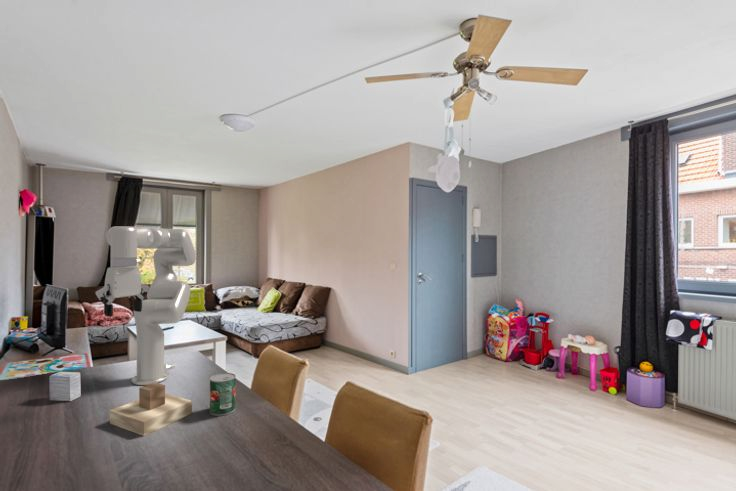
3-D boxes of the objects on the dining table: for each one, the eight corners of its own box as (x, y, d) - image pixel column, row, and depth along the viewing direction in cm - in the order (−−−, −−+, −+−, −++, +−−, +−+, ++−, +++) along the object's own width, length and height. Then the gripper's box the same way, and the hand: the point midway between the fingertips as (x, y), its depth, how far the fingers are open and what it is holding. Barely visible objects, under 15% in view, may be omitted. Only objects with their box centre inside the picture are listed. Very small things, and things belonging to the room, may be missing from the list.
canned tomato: (204, 412, 124) (204, 378, 124) (223, 403, 131) (223, 371, 131) (221, 418, 120) (221, 383, 120) (240, 408, 127) (240, 375, 127)
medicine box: (81, 396, 135) (81, 372, 135) (70, 402, 130) (70, 376, 130) (60, 395, 136) (60, 371, 135) (48, 400, 131) (48, 375, 131)
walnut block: (154, 400, 123) (154, 382, 122) (165, 403, 120) (165, 384, 120) (139, 407, 118) (139, 387, 118) (150, 410, 116) (150, 390, 116)
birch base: (158, 403, 130) (158, 391, 130) (192, 413, 123) (192, 400, 123) (109, 423, 115) (109, 410, 115) (144, 436, 109) (144, 422, 109)
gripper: (141, 261, 139) (141, 308, 139) (89, 264, 123) (89, 317, 124) (155, 262, 136) (155, 310, 136) (103, 265, 120) (103, 319, 120)
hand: (123, 313), depth 130 cm, fingers open, 9 cm apart
